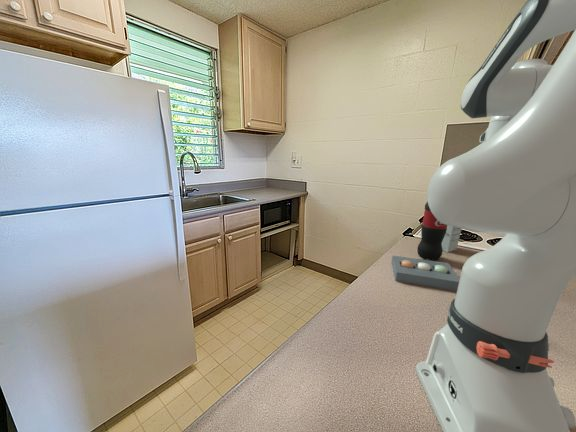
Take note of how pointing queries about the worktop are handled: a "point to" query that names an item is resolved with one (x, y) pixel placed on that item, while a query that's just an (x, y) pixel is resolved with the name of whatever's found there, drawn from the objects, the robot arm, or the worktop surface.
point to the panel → (425, 274)
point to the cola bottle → (431, 236)
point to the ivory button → (423, 266)
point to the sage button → (440, 269)
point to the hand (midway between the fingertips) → (495, 187)
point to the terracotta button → (407, 264)
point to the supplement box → (451, 238)
